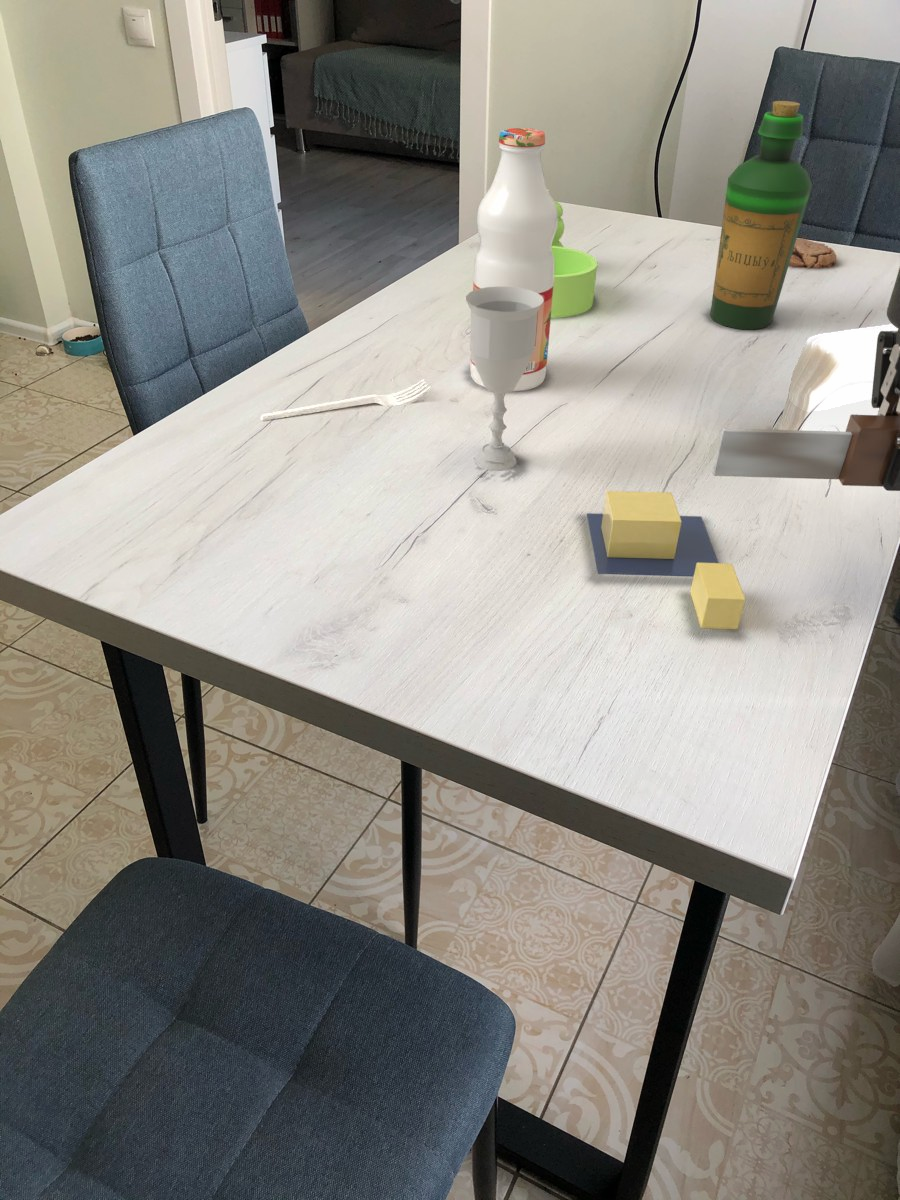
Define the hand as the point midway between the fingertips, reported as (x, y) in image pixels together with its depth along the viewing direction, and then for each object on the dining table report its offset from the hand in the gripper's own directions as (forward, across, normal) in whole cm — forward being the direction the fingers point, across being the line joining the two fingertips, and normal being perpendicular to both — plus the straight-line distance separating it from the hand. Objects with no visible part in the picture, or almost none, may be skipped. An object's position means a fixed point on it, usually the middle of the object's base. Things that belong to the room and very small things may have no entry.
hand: (888, 477), depth 75 cm
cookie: (+13, +94, -23) cm, 98 cm away
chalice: (+12, +21, +30) cm, 39 cm away
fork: (+12, +34, +47) cm, 59 cm away
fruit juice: (+12, +44, +28) cm, 53 cm away
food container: (+12, +77, +22) cm, 81 cm away
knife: (0, 0, +5) cm, 5 cm away
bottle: (+12, +65, -6) cm, 67 cm away
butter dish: (+11, +6, +16) cm, 21 cm away
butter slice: (+11, -4, +13) cm, 18 cm away
